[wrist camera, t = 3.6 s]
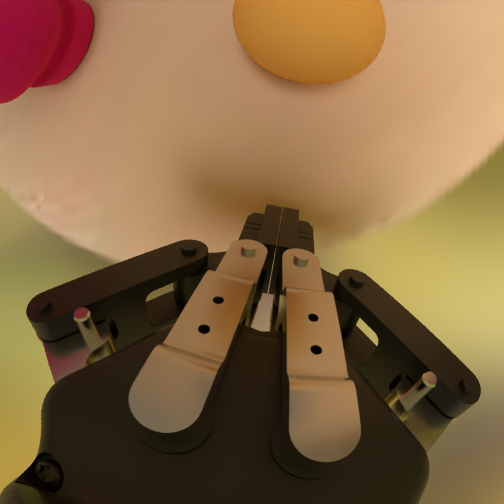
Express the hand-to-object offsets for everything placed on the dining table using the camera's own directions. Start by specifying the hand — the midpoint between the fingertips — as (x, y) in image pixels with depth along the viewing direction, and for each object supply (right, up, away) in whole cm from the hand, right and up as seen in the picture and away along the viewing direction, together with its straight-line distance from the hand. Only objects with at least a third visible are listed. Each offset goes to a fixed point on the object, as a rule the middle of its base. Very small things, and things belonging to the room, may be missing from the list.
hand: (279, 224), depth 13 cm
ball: (+1, +7, -6) cm, 9 cm away
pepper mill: (-13, +12, -3) cm, 18 cm away
